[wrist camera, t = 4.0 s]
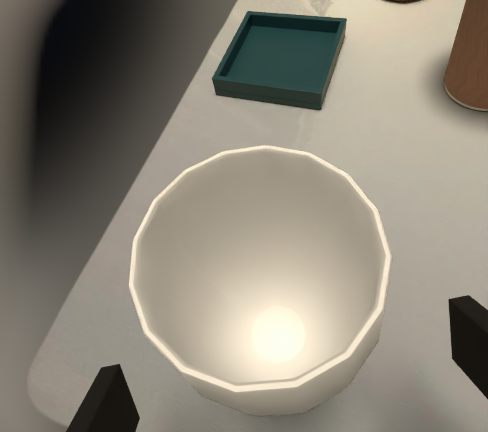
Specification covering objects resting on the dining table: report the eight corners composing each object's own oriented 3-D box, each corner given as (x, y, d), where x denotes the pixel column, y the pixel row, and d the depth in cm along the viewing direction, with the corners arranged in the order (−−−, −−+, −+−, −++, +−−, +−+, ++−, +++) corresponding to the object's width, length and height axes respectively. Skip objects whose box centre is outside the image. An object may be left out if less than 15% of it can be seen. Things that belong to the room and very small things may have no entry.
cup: (308, 432, 24) (338, 522, 6) (219, 375, 26) (44, 312, 8) (350, 335, 26) (460, 184, 8) (265, 291, 29) (208, 101, 11)
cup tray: (320, 110, 37) (321, 93, 35) (216, 94, 41) (211, 78, 39) (344, 36, 42) (346, 18, 40) (249, 28, 46) (247, 10, 44)
